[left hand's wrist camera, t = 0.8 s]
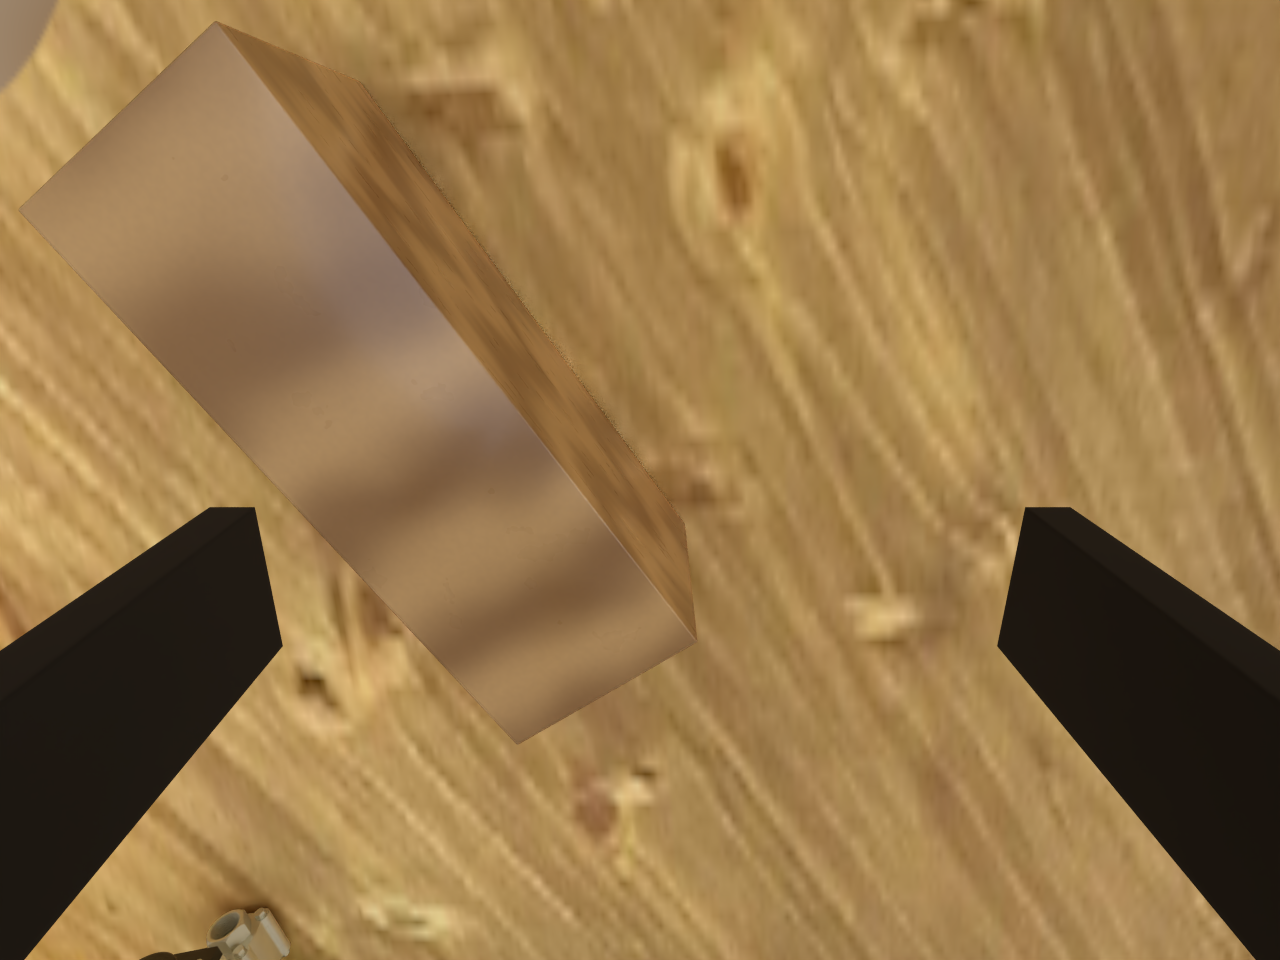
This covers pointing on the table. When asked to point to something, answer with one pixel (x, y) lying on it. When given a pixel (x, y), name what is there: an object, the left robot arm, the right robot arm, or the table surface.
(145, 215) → the box
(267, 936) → the pneumatic valve
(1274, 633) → the table surface
